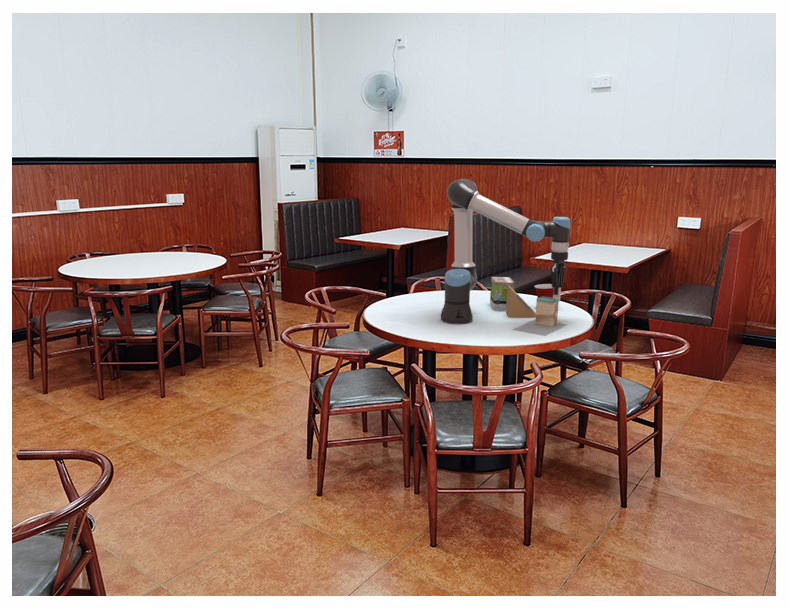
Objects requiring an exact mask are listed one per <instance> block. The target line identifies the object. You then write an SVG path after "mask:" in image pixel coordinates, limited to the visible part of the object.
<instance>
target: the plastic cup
mask: <svg viewBox="0 0 790 608" xmlns="http://www.w3.org/2000/svg"><path fill="white" fill-rule="evenodd" d="M534 288H535V291H536V297H537V298H540V297H542V296H543V297H550V298H553V296H554V288H553V287H552V283H542V284H536V285H534ZM537 298H536V299H537Z"/></svg>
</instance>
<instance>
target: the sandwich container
mask: <svg viewBox="0 0 790 608" xmlns="http://www.w3.org/2000/svg"><path fill="white" fill-rule="evenodd" d="M506 314H507V315H506ZM505 315H506V317H507V316H508V317H507V318H517V319H518V318H522V319H523V318H529V319H530V318H534V319H536V310H534V309H533V308H532V306H530V305H529V304H528V303H527V302H526V301H525V300H524V299H523V298H522V297H521V296H520V295H519V294H518V293H517V292H516V290H515V289H514V290H513V289H512V288H511V287H510V286H509V285H507V301H506V311H505Z"/></svg>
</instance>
